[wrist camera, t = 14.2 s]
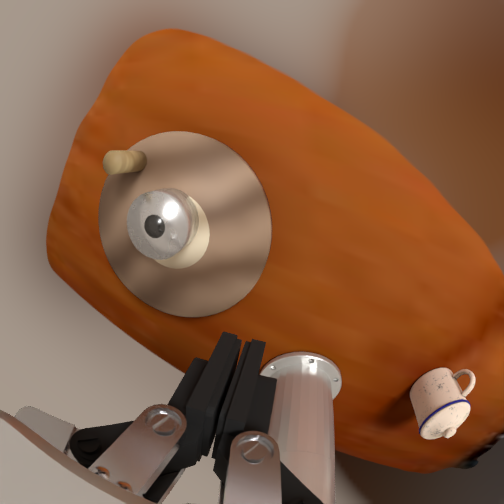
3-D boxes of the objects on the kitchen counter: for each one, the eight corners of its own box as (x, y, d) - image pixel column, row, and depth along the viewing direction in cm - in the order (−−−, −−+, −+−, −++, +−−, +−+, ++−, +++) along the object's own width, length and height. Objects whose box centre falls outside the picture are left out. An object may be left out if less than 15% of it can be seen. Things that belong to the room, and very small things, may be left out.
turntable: (304, 276, 30) (304, 305, 24) (156, 328, 36) (134, 354, 30) (217, 97, 26) (195, 81, 20) (84, 191, 32) (50, 198, 26)
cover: (209, 236, 29) (197, 246, 26) (159, 257, 31) (144, 268, 28) (183, 177, 28) (167, 179, 24) (134, 203, 29) (117, 209, 26)
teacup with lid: (426, 406, 36) (441, 453, 25) (397, 395, 36) (412, 448, 25) (472, 362, 32) (498, 406, 21) (448, 345, 32) (477, 395, 21)
